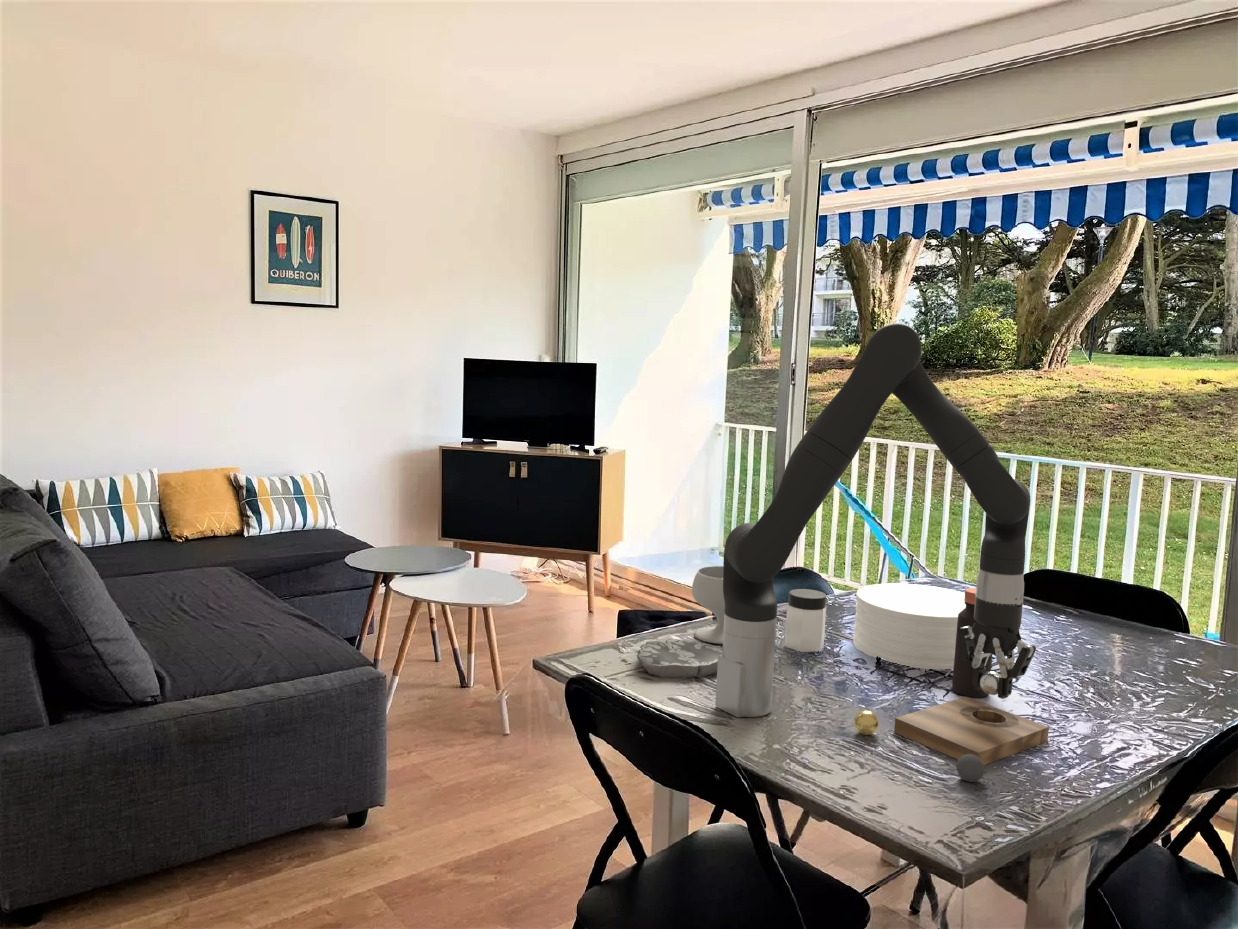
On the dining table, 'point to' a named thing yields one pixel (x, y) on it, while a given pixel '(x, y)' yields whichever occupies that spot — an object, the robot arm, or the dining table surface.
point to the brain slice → (679, 658)
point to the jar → (805, 620)
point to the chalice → (710, 601)
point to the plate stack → (908, 624)
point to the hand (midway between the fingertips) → (991, 692)
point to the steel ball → (990, 682)
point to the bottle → (961, 668)
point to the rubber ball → (970, 768)
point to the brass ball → (866, 722)
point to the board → (971, 730)
